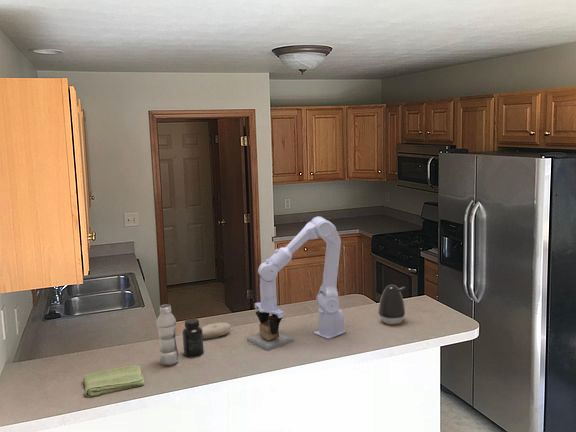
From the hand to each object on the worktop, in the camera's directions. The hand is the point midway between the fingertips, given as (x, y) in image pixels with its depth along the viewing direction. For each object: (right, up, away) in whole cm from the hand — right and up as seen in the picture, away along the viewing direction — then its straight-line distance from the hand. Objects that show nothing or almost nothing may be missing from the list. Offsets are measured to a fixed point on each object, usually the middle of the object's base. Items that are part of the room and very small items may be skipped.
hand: (269, 331), depth 197 cm
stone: (-21, -3, +7) cm, 22 cm away
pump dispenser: (+48, 0, +15) cm, 50 cm away
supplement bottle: (-26, -6, -8) cm, 28 cm away
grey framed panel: (0, -4, +1) cm, 4 cm away
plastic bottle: (-33, -8, -15) cm, 37 cm away
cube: (0, -2, 0) cm, 2 cm away
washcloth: (-48, -11, -28) cm, 56 cm away
